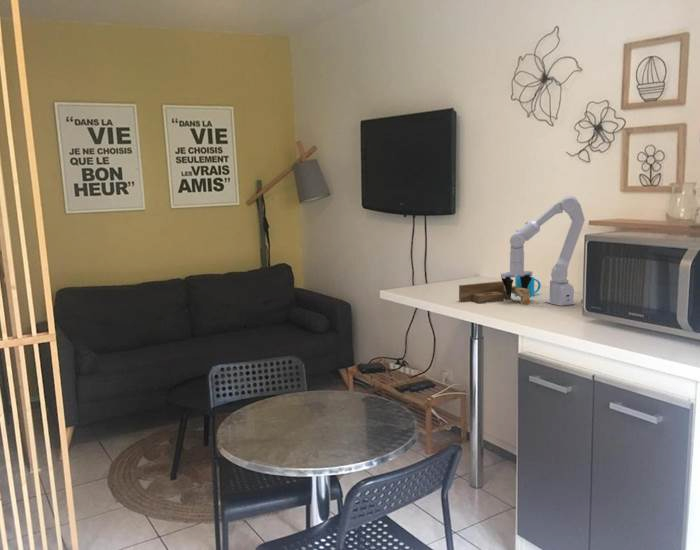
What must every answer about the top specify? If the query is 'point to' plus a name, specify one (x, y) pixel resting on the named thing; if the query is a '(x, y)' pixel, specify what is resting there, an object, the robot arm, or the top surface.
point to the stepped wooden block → (482, 292)
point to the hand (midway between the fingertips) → (516, 294)
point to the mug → (530, 286)
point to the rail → (519, 291)
